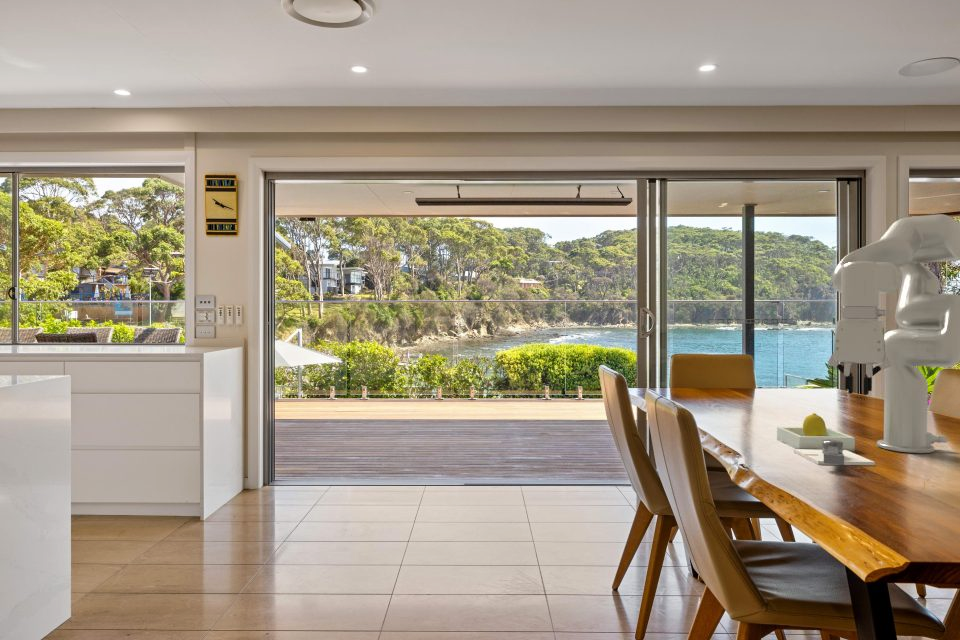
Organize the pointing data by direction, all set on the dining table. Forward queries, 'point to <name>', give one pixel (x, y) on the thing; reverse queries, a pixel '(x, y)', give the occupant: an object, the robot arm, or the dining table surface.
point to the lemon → (814, 426)
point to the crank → (833, 452)
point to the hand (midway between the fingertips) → (858, 392)
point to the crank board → (818, 458)
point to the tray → (812, 438)
